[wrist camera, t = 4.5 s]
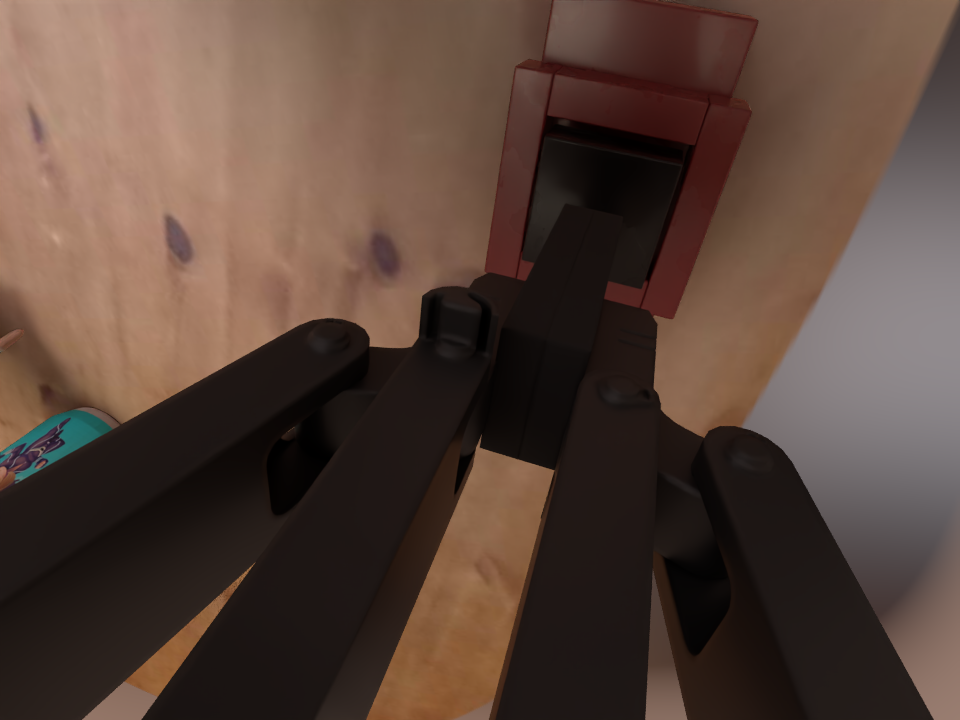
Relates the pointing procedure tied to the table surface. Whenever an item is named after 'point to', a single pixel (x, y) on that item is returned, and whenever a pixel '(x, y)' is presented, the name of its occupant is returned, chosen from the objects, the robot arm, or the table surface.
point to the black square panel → (605, 192)
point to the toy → (10, 339)
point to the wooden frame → (630, 120)
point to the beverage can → (52, 442)
